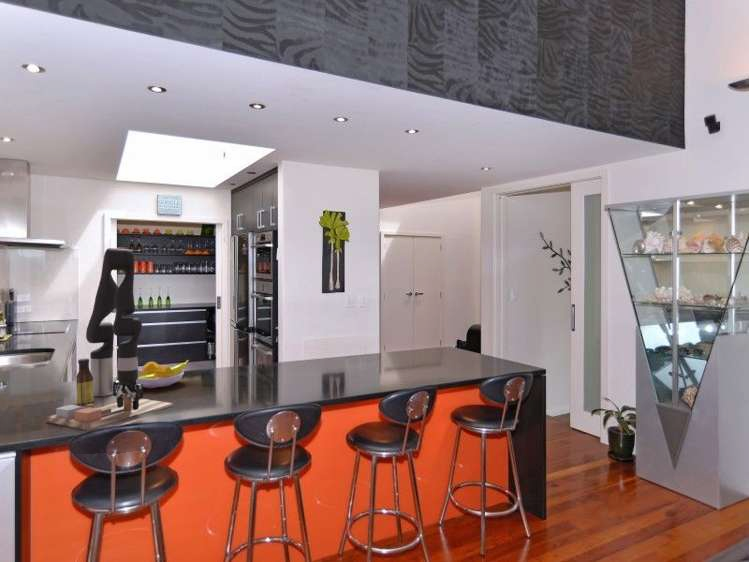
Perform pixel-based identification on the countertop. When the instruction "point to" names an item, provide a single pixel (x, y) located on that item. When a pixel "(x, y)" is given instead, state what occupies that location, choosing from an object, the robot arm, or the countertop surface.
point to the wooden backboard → (143, 407)
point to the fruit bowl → (160, 375)
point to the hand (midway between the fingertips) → (127, 408)
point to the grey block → (70, 411)
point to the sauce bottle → (84, 383)
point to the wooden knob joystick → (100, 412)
